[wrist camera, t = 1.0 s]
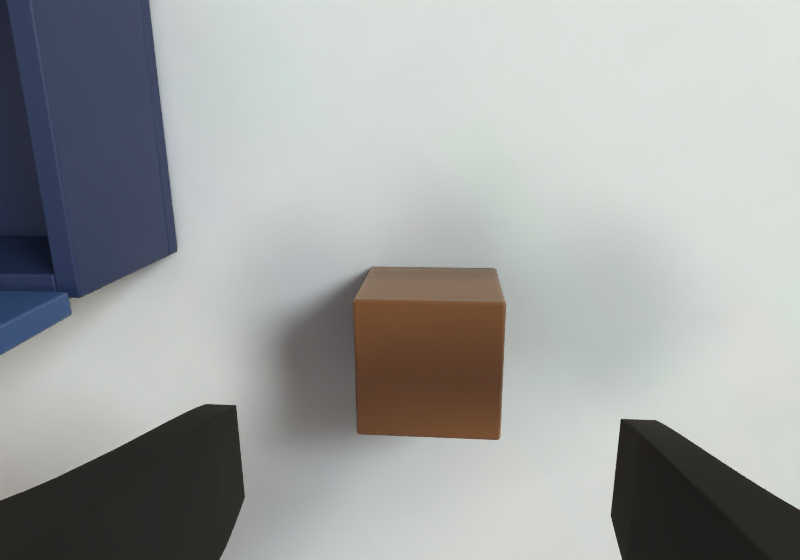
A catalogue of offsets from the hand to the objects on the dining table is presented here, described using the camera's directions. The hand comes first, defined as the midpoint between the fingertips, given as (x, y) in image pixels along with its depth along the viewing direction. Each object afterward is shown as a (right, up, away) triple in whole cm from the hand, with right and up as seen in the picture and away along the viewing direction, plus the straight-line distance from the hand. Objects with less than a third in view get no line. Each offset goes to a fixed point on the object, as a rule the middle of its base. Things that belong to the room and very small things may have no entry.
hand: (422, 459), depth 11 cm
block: (+1, +2, +8) cm, 8 cm away
